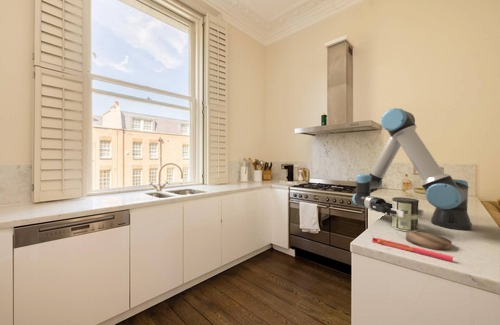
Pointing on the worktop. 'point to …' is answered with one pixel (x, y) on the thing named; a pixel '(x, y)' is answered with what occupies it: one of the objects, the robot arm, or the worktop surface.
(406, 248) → the chopstick
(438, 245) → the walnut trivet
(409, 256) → the worktop surface
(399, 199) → the coffee can
